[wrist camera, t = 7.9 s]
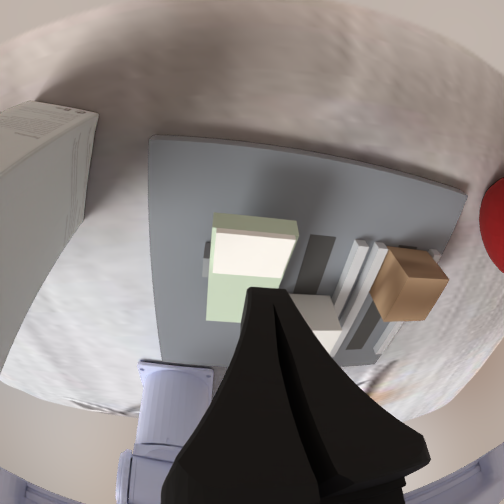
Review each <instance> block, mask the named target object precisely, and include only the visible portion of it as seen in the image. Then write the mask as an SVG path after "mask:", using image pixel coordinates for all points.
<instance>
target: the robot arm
mask: <svg viewBox="0 0 504 504" xmlns="http://www.w3.org/2000/svg"><path fill="white" fill-rule="evenodd" d="M137 368H138V371H139V374H140V378H141V381H142V385H143V394H142V400H141V407H140V413H139V420H138V427H137V434H136V442H135V444H134V451H133V454H132V450H129V449H126V450H125V451H124V452H122V453H121V454H120V458H119V464H118V472H117V482H116V500H117V504H499V503H500V501H501V500H503V499H504V442H503V443H502V444H500V445H499V446H497V447H496V448H494V449H492V450H491V451H489V452H488V453H486V454H485V455H483V456H481V457H480V458H479V459H477V460H475V461H473V462H472V463H470V464H468V465H466V466H464V467H463V468H461V469H459V470H457V471H455V472H453V473H451V474H449V475H447V476H446V477H443V478H441V479H439V480H437V481H435V482H432V483H430V484H428V485H426V486H423V487H421V488H418V489H416V490H413V491H411V492H408V493H405V494H403V491H402V487H404V486H405V485H406V482H405V478H404V477H405V476H407V475H409V474H411V473H413V472H415V471H417V470H419V469H421V468H422V467H424V466H426V465H427V464H429V462H430V460H431V458H430V455H429V452H428V449H427V445H426V442H425V440H424V438H423V435H421V434H420V433H418V432H416V431H415V430H413V429H412V428H410V427H409V426H407V425H405V424H404V423H402V422H401V421H399V420H398V419H396V418H395V417H394V416H392V415H391V414H390V413H388V412H387V411H386V410H385V409H383V408H382V407H381V406H380V405H378V404H377V403H376V402H375V401H374V400H373V399H372V398H370V397H369V396H368V395H367V394H366V393H365V392H364V391H363V390H361V389H360V388H359V387H358V386H357V385H356V384H355V383H354V382H353V381H352V380H351V379H350V378H349V376H348V375H347V374H346V373H345V372H344V371H343V370H342V369H341V368H340V367H339V365H338V364H337V363H336V362H335V361H334V359H333V358H332V357H331V356H330V354H329V353H328V352H327V351H326V349H325V348H324V347H323V345H322V344H321V343H320V341H319V340H318V338H317V337H316V336H315V334H314V333H313V331H312V330H311V328H310V327H309V325H308V324H307V322H306V321H305V319H304V318H303V316H302V315H301V313H300V311H299V310H298V308H297V307H296V305H295V303H294V302H293V300H292V298H291V297H290V295H289V293H288V292H287V290H286V289H278V288H263V287H249V288H248V289H247V291H246V297H245V302H244V308H243V313H242V319H241V325H240V337H239V340H238V343H237V346H236V349H235V352H234V355H233V357H232V360H231V362H230V364H229V367H228V369H227V371H226V374H225V376H224V378H223V380H222V382H221V384H220V386H219V388H218V390H217V392H216V394H215V396H214V398H213V400H212V402H211V399H212V387H213V375H214V371H213V370H212V369H208V368H195V367H183V366H173V365H164V364H156V363H148V362H138V364H137ZM128 498H129V499H128ZM0 504H84V503H81V502H78V501H75V500H72V499H69V498H66V497H63V496H61V495H58V494H55V493H53V492H50V491H48V490H46V489H43V488H41V487H39V486H37V485H34V484H32V483H30V482H27V481H26V480H24V479H23V478H21V477H19V476H17V475H15V474H13V473H11V472H9V471H7V470H5V469H3V468H1V467H0Z"/></svg>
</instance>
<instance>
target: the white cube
mask: <svg viewBox="0 0 504 504" xmlns="http://www.w3.org/2000/svg"><path fill="white" fill-rule="evenodd" d="M289 295H290V297H291V298H292V300H293V302H294V303H295V305H296V307H297V308H298V310H299V311H300V313H301V315H302V316H303V318H304V319H305V321H306V322H307V324H308V325H309V327H310V328H311V330H312V331H313V333H314V334H315V336H316V337H317V338H318V340H319V341H320V343H321V344H322V345H323V347H324V348H325V349H326V351H327V352H328V353H329V354H330V352H331V350H332V349H333V347H334V345H335V343H336V341H337V339H338V338H339V336H340V334H341V332H342V328H341V326H340V323H339V320H338V317H337V314H336V311H335V309H334V306H333V303H332V300H331V298H330V296H327V295H305V294H289Z"/></svg>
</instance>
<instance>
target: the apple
mask: <svg viewBox="0 0 504 504" xmlns="http://www.w3.org/2000/svg"><path fill="white" fill-rule="evenodd" d="M479 223H480V232H481V236H482V240H483V243H484V246H485V248H486V251H487V253H488V255H489V257H490V258H491V260H492V261H493V263H494V264H495V265H496V266H497V267H498V269H499V270H500V271H501V272H503V273H504V177H503V178H501V179H500V180H498V181H497V182H496V183H495V184H494V185H492V186H491V187H490V188H489V189H488V191H487V192H486V193H485V196H484V198H483V200H482V204H481V208H480V216H479Z"/></svg>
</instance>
